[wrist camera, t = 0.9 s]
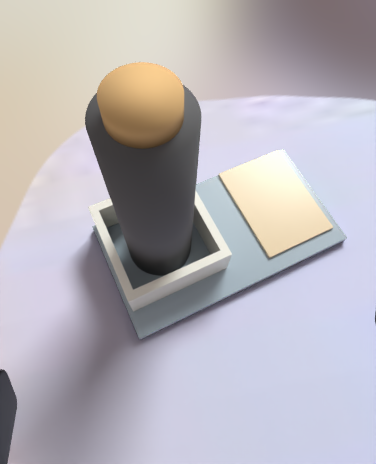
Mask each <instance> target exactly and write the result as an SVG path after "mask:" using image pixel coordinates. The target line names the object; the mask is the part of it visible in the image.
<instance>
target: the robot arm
mask: <svg viewBox="0 0 376 464" xmlns="http://www.w3.org/2000/svg"><path fill="white" fill-rule="evenodd" d="M375 323H376V313H375ZM16 410H17V399H16V395H15V392H14V390H13V387H12V385H11V382H10V379H9V377H8V374H7V373H6V371H5V370H2V369H0V464H7V463H8V457H9V451H10V445H11V439H12V433H13V427H14V421H15V416H16Z"/></svg>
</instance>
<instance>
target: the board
mask: <svg viewBox="0 0 376 464" xmlns="http://www.w3.org/2000/svg"><path fill="white" fill-rule="evenodd" d="M88 208H89V211H90V213H91V215H92V218H93V220H94V222H95V226H92V227H93V230H94V232H95V234H96V237H97V239H98V242H99V244H100V246H101V249H102V251H103V253H104V256H105V258H106V261H107V263H108V265H109V268H110V270H111V273H112V275H113V277H114V280H115V282H116V285H117V287H118V289H119V292H120V294H121V297H122V299H123V301H124V304H125V306H126V309H127V311H128V313H129V316H130V318H131V321H132V323H133V325H134V328H135V330H136V333H137V335H138V337H139V339H140V340H141V339H143V338H145V337H147V336H149V335H151V334H153V333H155V332H157V331H159V330H161V329H164V328H166V327H168V326H170V325H172V324H174V323H176V322H178V321H180V320H182V319H184V318H186V317H188V316H190V315H192V314H194V313H196V312H199V311H201V310H203V309H205V308H207V307H209V306H211V305H213V304H215V303H217V302H219V301H221V300H223V299H225V298H227V297H229V296H231V295H233V294H236V293H238V292H240V291H242V290H244V289H246V288H248V287H250V286H252V285H254V284H256V283H258V282H260V281H262V280H264V279H266V278H268V277H270V276H273V275H275V274H277V273H279V272H281V271H283V270H285V269H287V268H289V267H291V266H293V265H295V264H297V263H299V262H301V261H303V260H305V259H308V258H310V257H312V256H314V255H316V254H318V253H320V252H322V251H324V250H326V249H328V248H330V247H332V246H334V245H336V244H338V243H340V242H342V241H344V240H345V239H346V238H347V237H346V235H345V234H344V233H343V231H342V230H341V228H340V227H339V226H338V224H337V223H336V222H335V220H334V219H333V217H332V216H331V215H330V213H329V212H328V210H327V209H326V208H325V206H324V205H323V203H322V202H321V201H320V199H319V198H318V197H317V195H316V194H315V192H314V191H313V190H312V188H311V187H310V185H309V184H308V183H307V181H306V180H305V179H304V177H303V176H302V174H301V173H300V172H299V170H298V169H297V167H296V166H295V165H294V163H293V162H292V160H291V159H290V158H289V156H288V155H287V154H286V152H285V151H284V149H282V150H280V151H279V150H276V151H274V152H271V153H269V154H266V155H264V156H262V157H259V158H257V159H254V160H252V161H249V162H247V163H244V164H242V165H239V166H237V167H234V168H232V169H229V170H227V171H224V172H222V173H220V174H219V175H218V176H216V177H213V178H211V179H208V180H206V181H203V182H201V183H198V184H196V191H195V203H194V216H193V228H192V241H191V251H190V255H189V257H188V259H187V261H186V263H185V264H184V265H183V266H182V267H181V268H180V269H178V270H176V271H174V272H172V273H169V274H167V275H152V274H148V273H146V272H144V271H142V270H141V269H139V268H138V267H137V266H136V265H135V263H134V262H133V260H132V258H131V255H130V252H129V250H128V247H127V244H126V241H125V238H124V235H123V232H122V230H121V227H120V224H119V221H118V218H117V215H116V212H115V210H114V207H113V204H112V201H111V198H109V199H107V200H104V201H102V202H99V203H97V204H94V205H92V206H89V207H88Z"/></svg>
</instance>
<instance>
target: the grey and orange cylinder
mask: <svg viewBox="0 0 376 464" xmlns="http://www.w3.org/2000/svg"><path fill="white" fill-rule="evenodd" d="M85 125H86V130H87V133H88V135H89V138H90V141H91V144H92V147H93V150H94V153H95V155H96V158H97V161H98V164H99V167H100V170H101V172H102V175H103V178H104V181H105V184H106V187H107V190H108V192H109V195H110V198H111V201H112V204H113V207H114V210H115V212H116V215H117V218H118V221H119V224H120V227H121V230H122V232H123V235H124V238H125V241H126V244H127V247H128V250H129V252H130V255H131V258H132V260H133V262H134V263H135V265H136V266H137V267H138V268H139V269H141V270H142V271H144V272H146V273H148V274H152V275H167V274H169V273H172V272H174V271H176V270H178V269H180V268H181V267H182V266H183V265H184V264H185V263H186V261H187V259H188V257H189V255H190V251H191V241H192V228H193V216H194V203H195V191H196V178H197V166H198V154H199V141H200V129H201V110H200V106H199V104H198V101H197V100H196V98H195V96H194V95H193V94H192V93H191V91H189V89H188V88H186V87H185V86H184V85H182V83H181V81H180V79H179V78H178V77H177V76H176V75H175V74H174V73H173V72H171V71H170V70H169V69H167V68H165V67H162V66H160V65H157V64H152V63H144V62H139V63H131V64H127V65H124V66H121V67H118V68H116V69H115V70H113V71H112V72H110V73H109V74H108V75H106V76H105V78H104V79H103V80H102V81H101V83H100V85H99V87H98V90H97V93H96V94H95V95H94V97H93V98H92V100H91V101H90V103H89V105H88V108H87V111H86V117H85Z"/></svg>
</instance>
